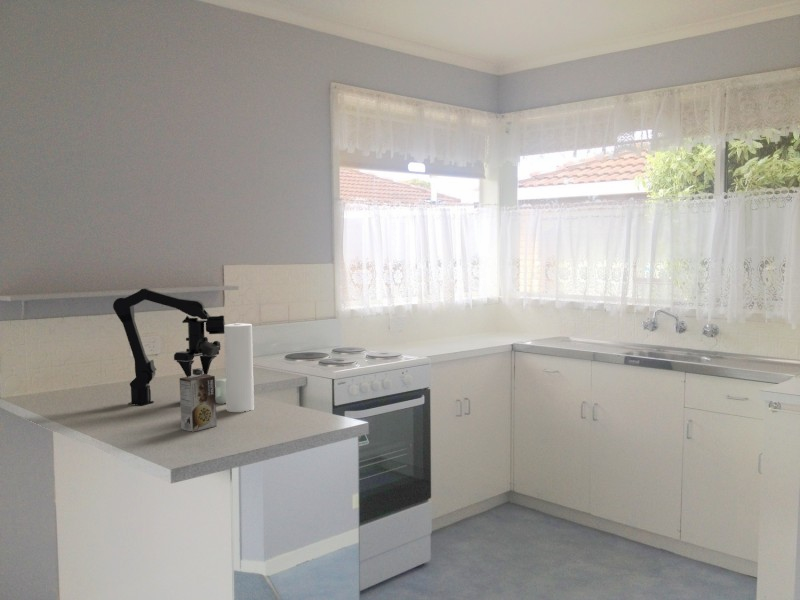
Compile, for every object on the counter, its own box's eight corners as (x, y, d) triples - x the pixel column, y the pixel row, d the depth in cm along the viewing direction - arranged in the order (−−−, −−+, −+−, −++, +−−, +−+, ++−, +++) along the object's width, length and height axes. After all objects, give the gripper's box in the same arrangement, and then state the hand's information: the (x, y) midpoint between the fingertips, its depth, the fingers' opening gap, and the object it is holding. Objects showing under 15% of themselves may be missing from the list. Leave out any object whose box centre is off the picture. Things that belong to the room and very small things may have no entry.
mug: (224, 405, 260) (223, 383, 259) (208, 403, 263) (207, 382, 262) (239, 400, 268) (238, 379, 268) (223, 399, 271) (223, 378, 270)
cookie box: (205, 423, 232) (203, 373, 231) (217, 426, 228) (216, 375, 227) (180, 429, 225) (178, 377, 224) (192, 432, 221) (191, 379, 220)
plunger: (198, 388, 265) (198, 370, 264) (190, 387, 266) (190, 369, 266) (205, 386, 268) (204, 368, 268) (197, 385, 270) (196, 368, 269)
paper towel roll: (247, 412, 247) (245, 324, 245) (221, 411, 249) (219, 324, 247) (258, 406, 257) (256, 322, 255) (233, 406, 258) (231, 322, 256)
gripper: (197, 338, 254) (198, 382, 255) (230, 332, 271) (231, 374, 272) (172, 337, 259) (173, 380, 260) (206, 331, 276) (207, 372, 277)
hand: (197, 376), depth 267 cm, fingers open, 9 cm apart
